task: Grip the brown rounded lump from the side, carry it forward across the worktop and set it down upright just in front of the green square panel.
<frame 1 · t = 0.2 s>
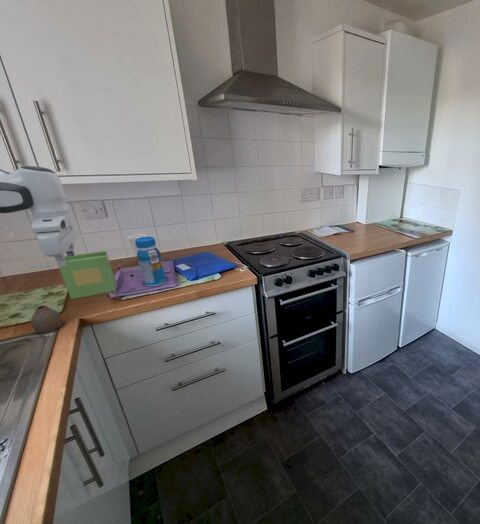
hand: (67, 260, 100), 20 cm above the worktop, tool pointing down, fingers open, 8 cm apart
green square panel: (95, 292, 120), on the worktop
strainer: (143, 263, 150), on the worktop
brown rounded lump: (51, 331, 96), on the worktop
beverage bottle: (156, 283, 129), on the worktop
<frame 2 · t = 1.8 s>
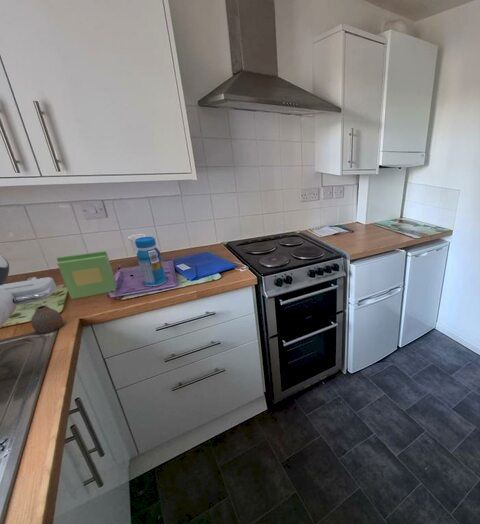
hand: (9, 283, 78), 22 cm above the worktop, tool horizontal, fingers open, 8 cm apart
nothing on the worktop moved.
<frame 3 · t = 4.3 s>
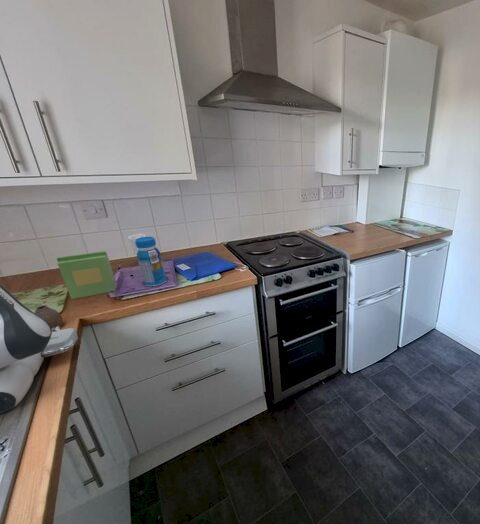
hand: (35, 333, 86), 5 cm above the worktop, tool horizontal, fingers open, 8 cm apart
nothing on the worktop moved.
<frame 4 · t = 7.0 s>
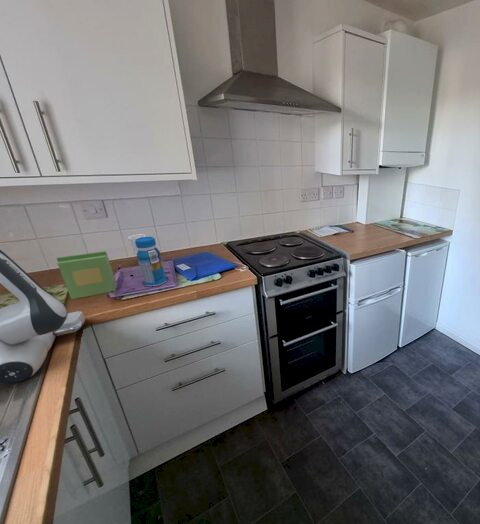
hand: (46, 316, 95), 5 cm above the worktop, tool horizontal, fingers closed on brown rounded lump, 7 cm apart
brown rounded lump: (51, 331, 96), on the worktop, touching gripper
everything else where it was.
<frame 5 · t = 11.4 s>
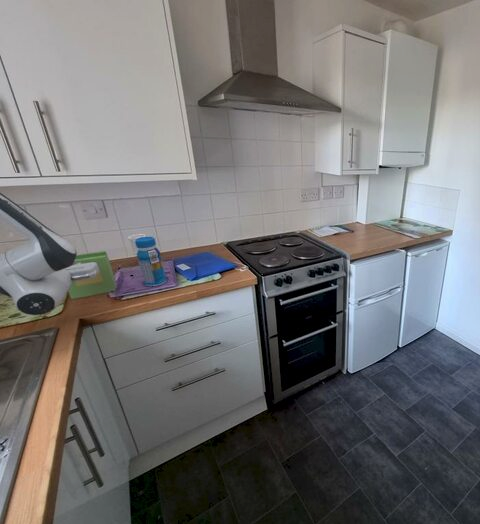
hand: (63, 267, 102), 17 cm above the worktop, tool horizontal, fingers closed on brown rounded lump, 7 cm apart
brown rounded lump: (68, 281, 103), point 12 cm above the worktop, touching gripper
everything else where it was.
when the fingers open (5 cm above the worktop, at t = 16.1 s): brown rounded lump stays where it is, on the worktop.
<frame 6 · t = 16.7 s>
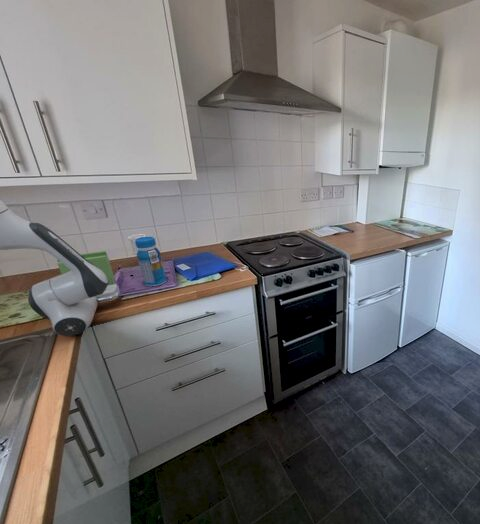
hand: (87, 288, 112), 5 cm above the worktop, tool horizontal, fingers open, 8 cm apart
brown rounded lump: (92, 302, 114), on the worktop
everything else where it was.
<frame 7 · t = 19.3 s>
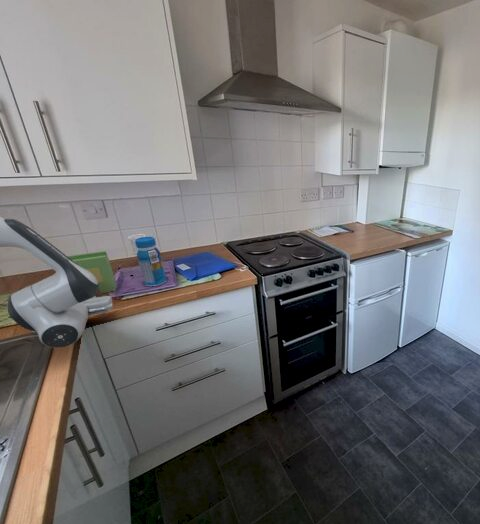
hand: (75, 301, 101), 6 cm above the worktop, tool horizontal, fingers open, 8 cm apart
nothing on the worktop moved.
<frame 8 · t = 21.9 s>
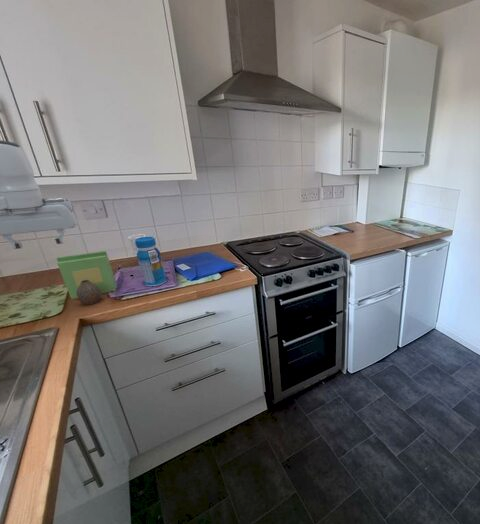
hand: (40, 245, 91), 27 cm above the worktop, tool pointing down, fingers open, 8 cm apart
nothing on the worktop moved.
at the end: brown rounded lump inside the target area on the worktop beside the green square panel (0.2 cm from its centre), on the worktop; brown rounded lump tilted 0°; the gripper is holding nothing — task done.
